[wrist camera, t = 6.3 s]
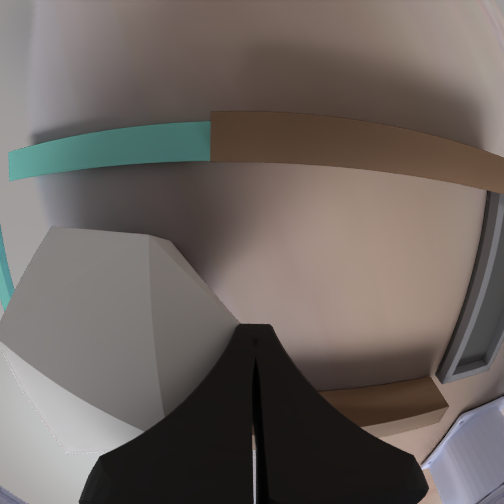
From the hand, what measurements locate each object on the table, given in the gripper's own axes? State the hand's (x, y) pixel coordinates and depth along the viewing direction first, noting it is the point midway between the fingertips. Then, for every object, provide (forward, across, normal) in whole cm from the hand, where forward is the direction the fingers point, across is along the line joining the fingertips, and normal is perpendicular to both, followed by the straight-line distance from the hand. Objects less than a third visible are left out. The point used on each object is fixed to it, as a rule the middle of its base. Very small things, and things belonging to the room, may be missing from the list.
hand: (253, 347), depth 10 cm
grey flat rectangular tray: (+3, -15, 0) cm, 15 cm away
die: (+4, +5, 0) cm, 6 cm away
